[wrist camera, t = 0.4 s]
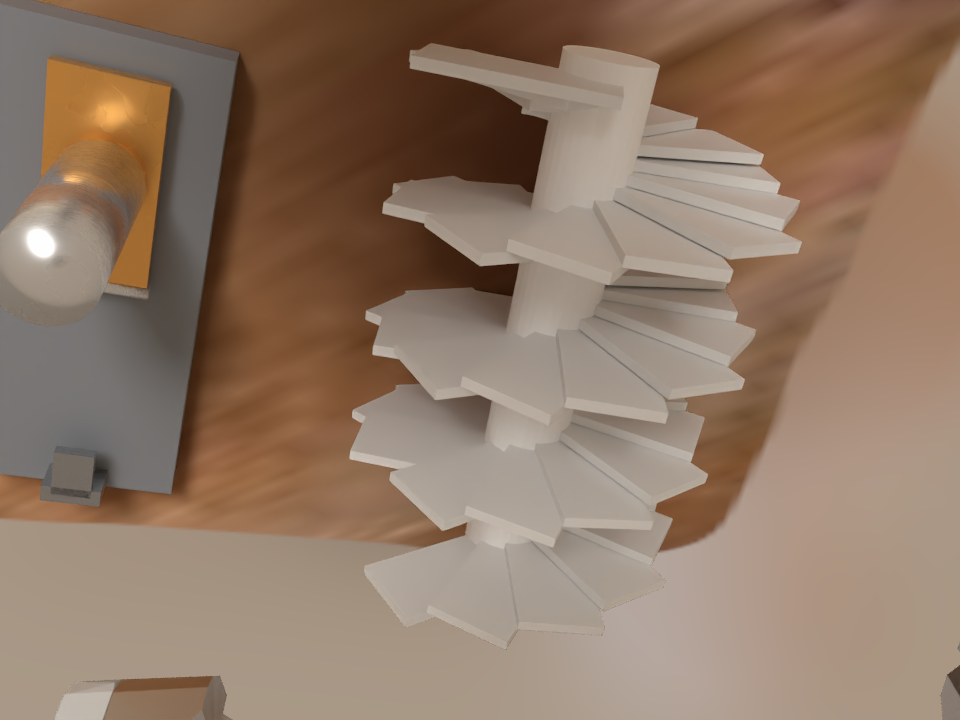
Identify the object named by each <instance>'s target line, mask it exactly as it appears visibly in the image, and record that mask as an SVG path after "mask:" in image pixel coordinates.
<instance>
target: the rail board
mask: <svg viewBox="0 0 960 720" xmlns="http://www.w3.org/2000/svg"><path fill="white" fill-rule="evenodd" d="M239 53H240V52H238V51H234V50H230V49H226V48H222V47H218V46H214V45H210V44H206V43H201V42H197V41H193V40H189V39H185V38H181V37H177V36H173V35H169V34H165V33H161V32H157V31H153V30H149V29H145V28H141V27H137V26H133V25H129V24H125V23H121V22H117V21H113V20H109V19H105V18H101V17H97V16H93V15H89V14H85V13H81V12H77V11H73V10H69V9H65V8H61V7H57V6H53V5H49V4H45V3H41V2H37V1H33V0H0V233H1V231H2V230H3V229H4V227H5V226H6V225H7V224H8V222H9V221H10V220H11V218H12V217H13V216H14V214H15V213H16V212H17V210H18V209H19V208H20V206H21V205H22V204H23V202H24V201H25V200H26V198H27V197H28V196H29V195H30V193H31V192H32V191H33V189H34V188H35V187H36V185H37V184H38V183H39V181H40V180H41V169H42V151H43V132H44V113H45V95H46V76H47V59H48V58H49V57H50V56H51V55H56V56H61V57H65V58H69V59H73V60H78V61H82V62H86V63H90V64H94V65H99V66H103V67H107V68H111V69H116V70H120V71H124V72H128V73H133V74H137V75H141V76H145V77H150V78H154V79H158V80H162V81H166V82H171V83H173V89H172V97H171V105H170V114H169V122H168V130H167V139H166V147H165V155H164V164H163V172H162V180H161V189H160V197H159V205H158V214H157V222H156V230H155V239H154V247H153V255H152V264H151V272H150V280H149V284H150V285H151V290H150V296H149V300H142V299H136V298H131V297H125V296H119V295H113V294H108V293H102V296H101V298H100V300H99V302H98V304H97V306H96V307H95V308H94V309H93V311H92V312H91V313H90V314H88V315H87V316H86V317H84V318H83V319H81V320H79V321H77V322H75V323H72V324H68V325H64V326H41V325H36V324H32V323H29V322H26V321H24V320H21V319H19V318H17V317H16V316H14V315H12V314H11V313H9V312H8V311H6V310H5V309H4V308H3V307H2V306H1V305H0V474H5V475H14V476H22V477H31V478H39V479H44V477H45V475H46V472H47V470H48V467H49V465H50V463H53V453H54V450H55V448H56V446H62V447H70V448H78V449H86V450H94V451H97V453H96V463H95V468H97V469H105V470H108V476H107V484H106V487H115V488H123V489H131V490H140V491H148V492H157V493H165V494H171V491H172V487H173V482H174V478H175V473H176V467H177V460H178V453H179V447H180V440H181V434H182V427H183V421H184V414H185V407H186V401H187V394H188V388H189V381H190V375H191V368H192V361H193V355H194V348H195V342H196V335H197V329H198V322H199V315H200V309H201V302H202V296H203V289H204V283H205V276H206V269H207V263H208V256H209V250H210V243H211V237H212V230H213V223H214V217H215V210H216V204H217V197H218V191H219V184H220V177H221V171H222V164H223V158H224V151H225V145H226V138H227V131H228V125H229V118H230V112H231V105H232V99H233V92H234V85H235V79H236V72H237V66H238V59H239Z"/></svg>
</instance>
